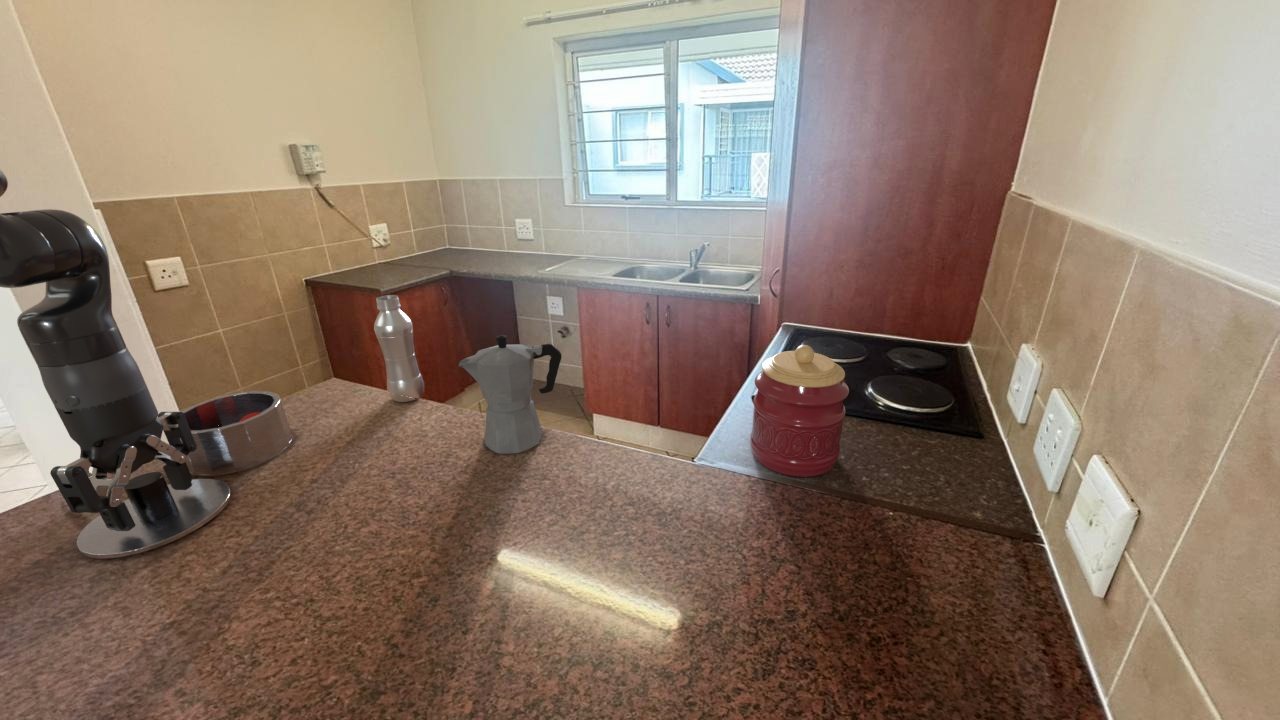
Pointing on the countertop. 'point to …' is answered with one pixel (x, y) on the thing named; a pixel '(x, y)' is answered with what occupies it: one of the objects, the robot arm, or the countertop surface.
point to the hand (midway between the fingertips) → (155, 507)
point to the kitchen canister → (798, 413)
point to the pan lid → (155, 516)
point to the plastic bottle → (398, 350)
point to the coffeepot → (511, 392)
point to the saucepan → (236, 433)
